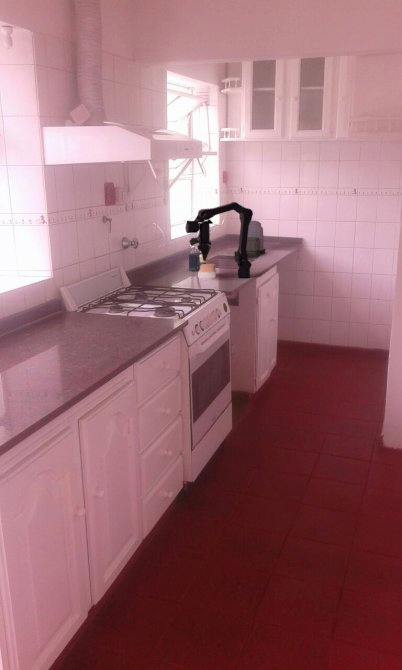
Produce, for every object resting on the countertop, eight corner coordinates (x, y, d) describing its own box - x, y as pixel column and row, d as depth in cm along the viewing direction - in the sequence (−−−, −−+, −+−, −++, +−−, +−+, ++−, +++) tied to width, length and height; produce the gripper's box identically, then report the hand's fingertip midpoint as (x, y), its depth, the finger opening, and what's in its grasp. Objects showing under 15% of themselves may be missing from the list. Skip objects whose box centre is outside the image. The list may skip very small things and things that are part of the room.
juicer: (245, 251, 458) (245, 218, 451) (267, 252, 454) (267, 218, 447) (238, 257, 430) (237, 222, 423) (260, 258, 426) (260, 222, 419)
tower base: (216, 275, 368) (216, 269, 367) (215, 278, 358) (215, 272, 358) (199, 275, 369) (199, 269, 368) (198, 278, 359) (198, 272, 359)
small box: (196, 271, 379) (196, 255, 376) (188, 271, 382) (187, 254, 380) (206, 269, 387) (206, 252, 384) (198, 268, 391) (198, 252, 388)
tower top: (215, 269, 366) (215, 264, 365) (213, 272, 359) (213, 266, 358) (202, 269, 367) (202, 264, 367) (200, 272, 360) (199, 266, 359)
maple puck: (210, 260, 349) (210, 253, 348) (209, 262, 344) (209, 255, 342) (200, 261, 350) (200, 254, 349) (199, 262, 344) (199, 255, 343)
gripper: (191, 230, 352) (192, 257, 356) (188, 234, 334) (189, 262, 338) (211, 230, 351) (211, 257, 355) (208, 234, 333) (209, 262, 337)
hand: (205, 259), depth 346 cm, fingers closed on maple puck, 6 cm apart
